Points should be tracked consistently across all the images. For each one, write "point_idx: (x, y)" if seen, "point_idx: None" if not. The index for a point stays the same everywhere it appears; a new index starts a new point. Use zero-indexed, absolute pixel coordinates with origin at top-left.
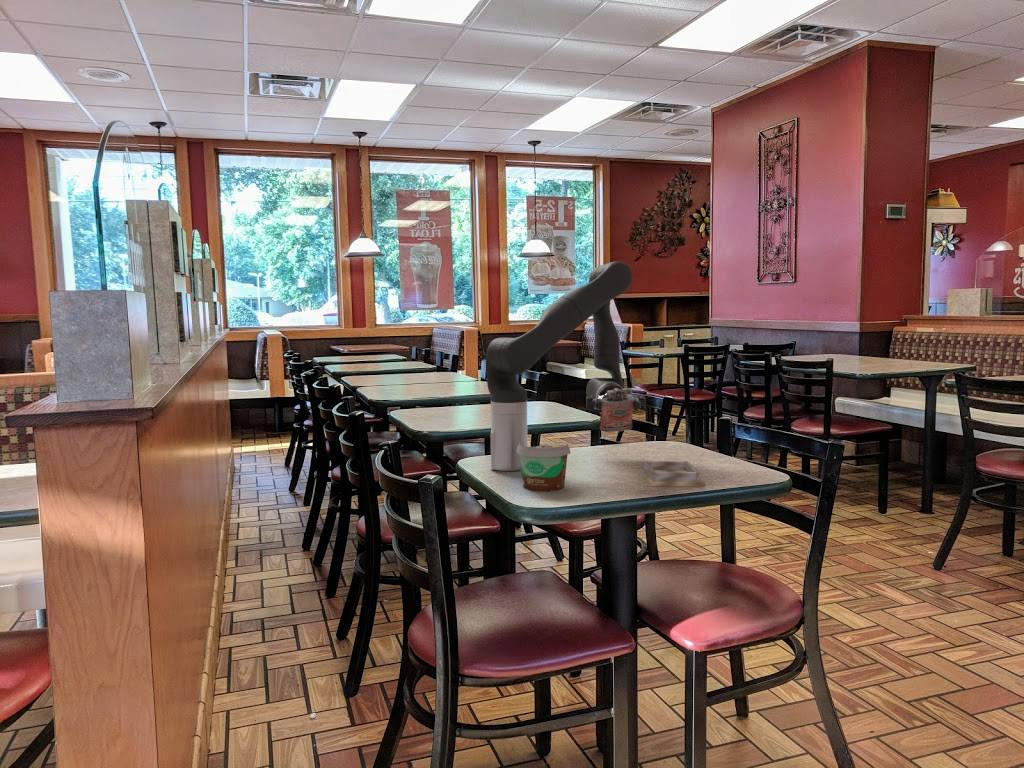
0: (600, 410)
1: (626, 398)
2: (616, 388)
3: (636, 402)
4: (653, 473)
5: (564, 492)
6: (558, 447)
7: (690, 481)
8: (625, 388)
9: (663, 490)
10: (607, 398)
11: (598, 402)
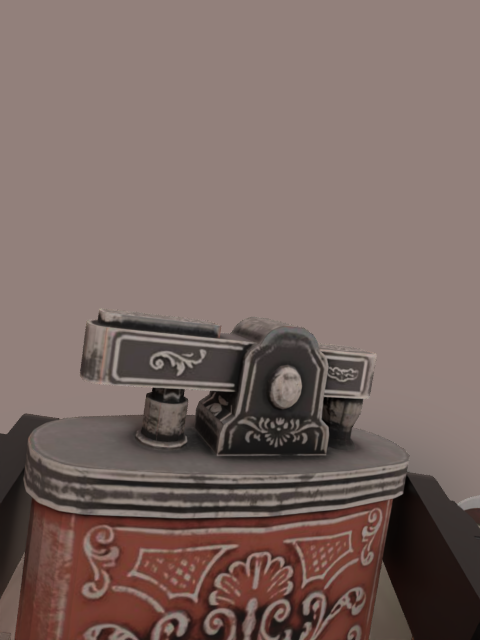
0: (386, 549)
1: (143, 427)
2: (285, 325)
3: (47, 418)
4: (3, 635)
5: (377, 611)
6: (459, 503)
7: None
8: (173, 319)
9: (9, 592)
10: (358, 457)
11: (431, 490)
